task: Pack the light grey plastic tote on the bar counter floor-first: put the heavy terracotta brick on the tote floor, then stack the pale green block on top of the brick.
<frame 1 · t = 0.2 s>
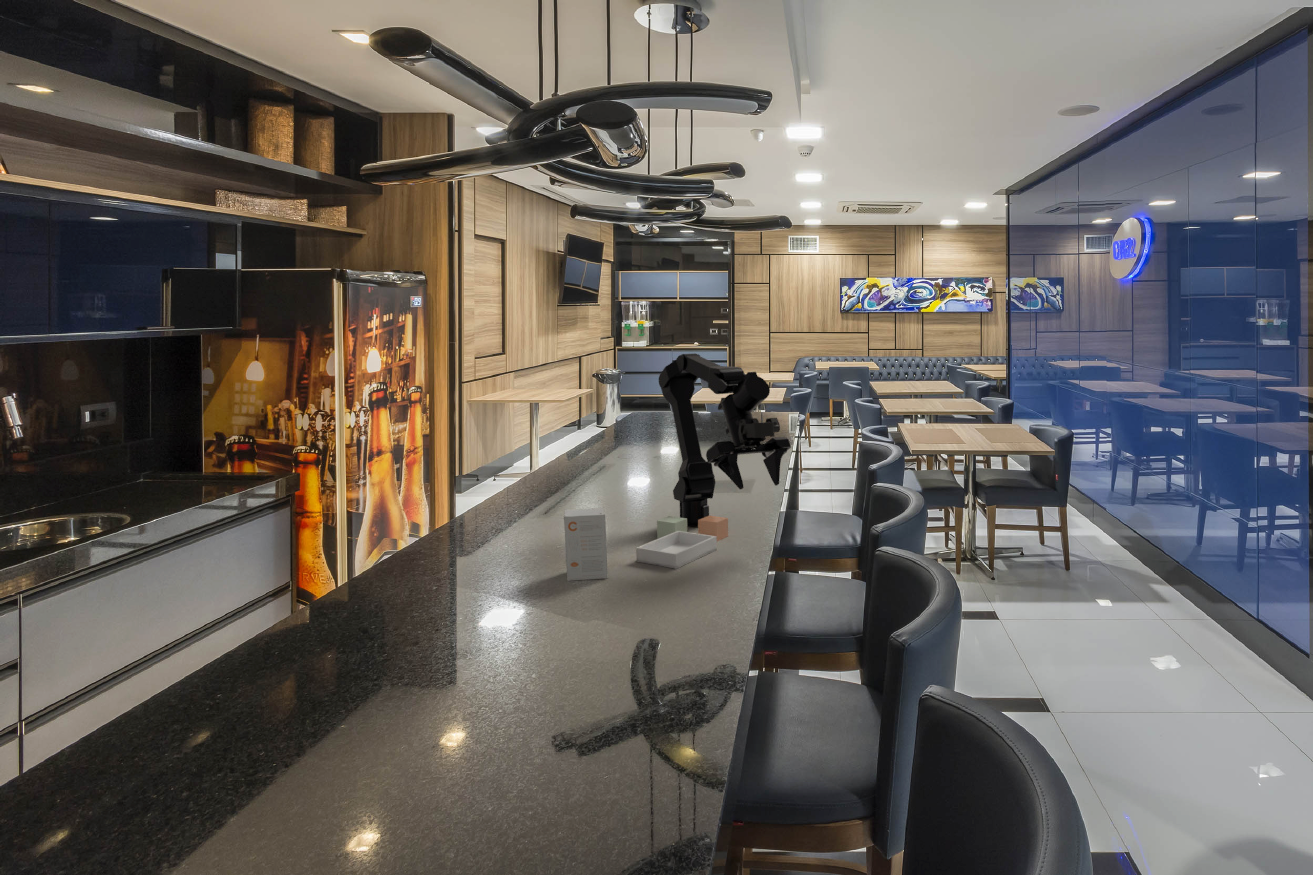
hand: (759, 486, 173), 14 cm above the bar counter, tool tilted 30°, fingers open, 9 cm apart
small box: (587, 576, 163), on the bar counter
pale green block: (672, 538, 189), on the bar counter
tote: (677, 555, 175), on the bar counter
brick: (713, 538, 189), on the bar counter
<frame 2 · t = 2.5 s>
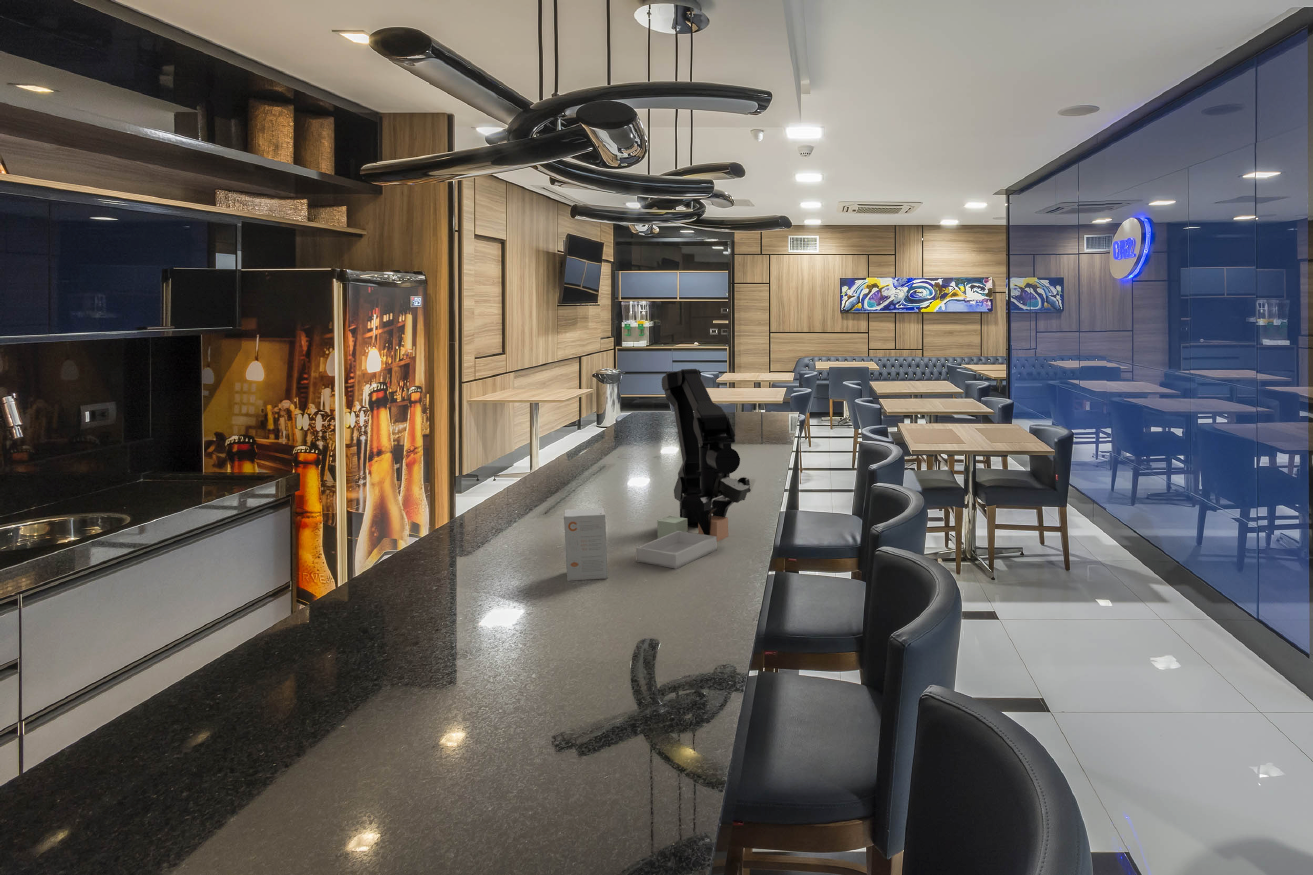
hand: (713, 533, 189), 1 cm above the bar counter, tool pointing down, fingers closed on brick, 5 cm apart
brick: (713, 537, 189), on the bar counter, touching gripper
everything else where it was.
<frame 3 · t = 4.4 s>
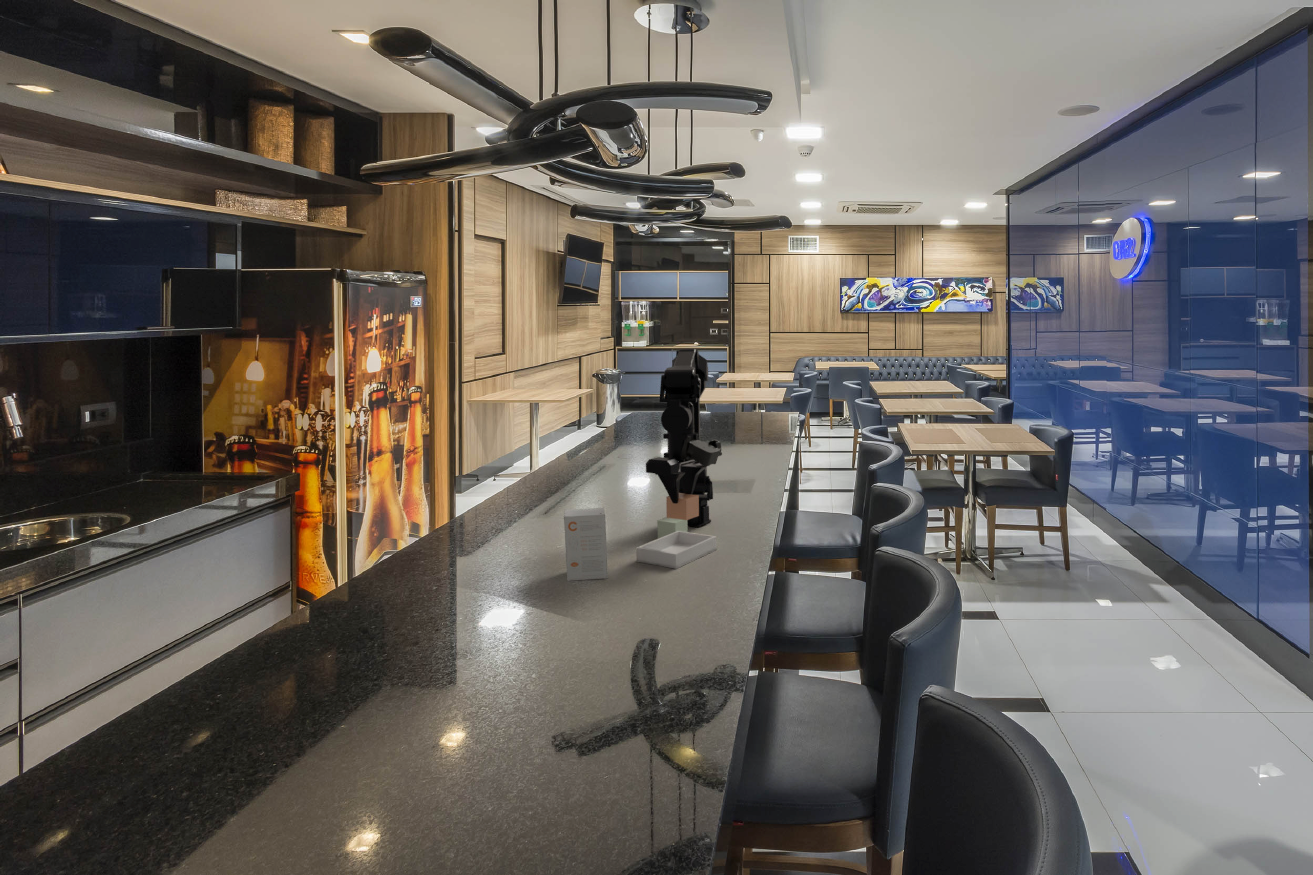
hand: (682, 501, 175), 12 cm above the bar counter, tool pointing down, fingers closed on brick, 5 cm apart
brick: (682, 516, 175), point 8 cm above the bar counter, touching gripper
everything else where it was.
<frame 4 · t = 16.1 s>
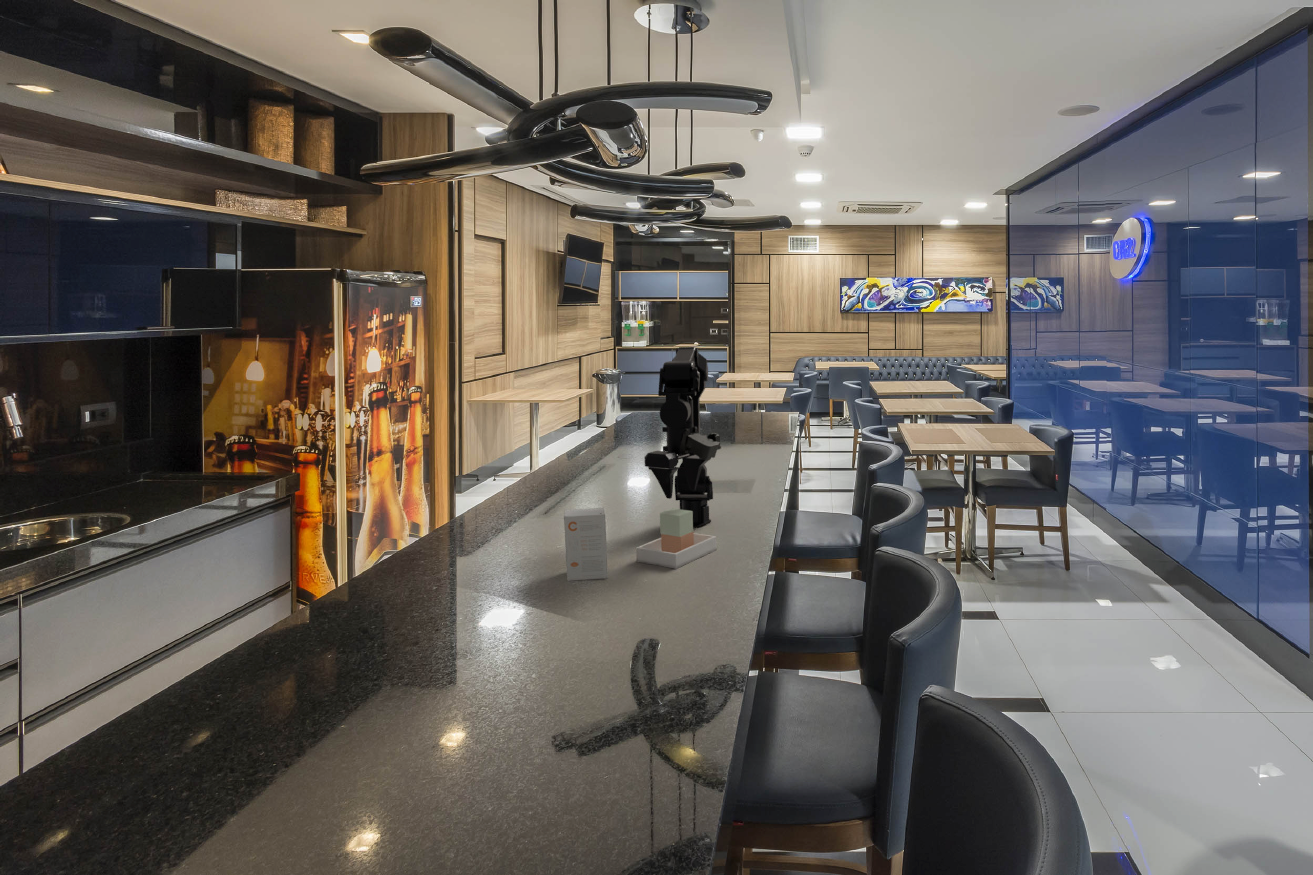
hand: (681, 494, 175), 13 cm above the bar counter, tool pointing down, fingers open, 9 cm apart
pale green block: (676, 532, 174), point 5 cm above the bar counter, touching brick
brick: (677, 553, 175), tote
everything else where it was.
at the end: brick inside the target area on the tote (0.1 cm from its centre), point 0.5 cm above the tote's base; pale green block 0.1 cm off-centre on the brick, point 4.5 cm above the brick's base; pale green block tilted 0° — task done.
